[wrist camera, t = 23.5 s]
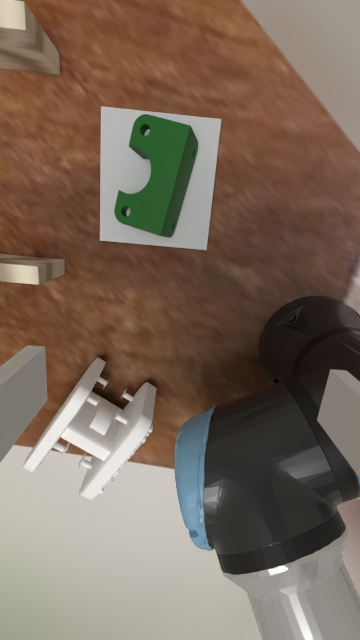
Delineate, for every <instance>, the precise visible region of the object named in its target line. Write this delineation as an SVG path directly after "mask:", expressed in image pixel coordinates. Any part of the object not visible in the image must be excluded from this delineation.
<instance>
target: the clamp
mask: <svg viewBox="0 0 360 640" xmlns="http://www.w3.org/2000/svg"><path fill="white" fill-rule="evenodd" d="M148 129H150V133H149V134H148V135H147V136H145V132H146V131H147V130H148ZM129 147H130V148H131V149H132V150H133V151H135V152H136V153H137V154H138V155H139V156H140V157H141V158H143V159H149V161H150V164H151V175H150V179H149V181H148V183H147V185H146V186H145V187H144V188H143V189H142V190H141V191H139V192H137V193H134V194H127V193H124V192H122V191H120V190H119V191H118V195H117V199H116V204H115V209H114V214H115V217H116V219H117V220H118V221H119V222H120V223H122V224H125V225H128V226H131V227H134V228H137V229H140V230H143V231H146V232H149V233H152V234H155V235H159V236H163V237H168V238H171V237H172V236H173V234H174V232H175V229H176V225H177V222H178V219H179V215H180V212H181V208H182V205H183V201H184V198H185V194H186V191H187V187H188V184H189V180H190V177H191V173H192V170H193V166H194V163H195V159H196V156H197V151H198V140H197V138H196V136H195V134H194V132H193V130H192V127H191V125H187V124H183V123H179V122H175V121H171V120H168V119H164V118H160V117H156V116H152V115H149V114H143V115H141V116H139V117H138V118H137V119H136V120H135V122H134V124H133V128H132V133H131V137H130V142H129ZM128 208H130V215H129V216H127V215H126V211H127V209H128Z"/></svg>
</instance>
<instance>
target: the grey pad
mask: <svg viewBox="0 0 360 640" xmlns="http://www.w3.org/2000/svg"><path fill="white" fill-rule="evenodd" d="M143 114H149V115H152V116H156V117H160V118H164V119H168V120H171V121H175V122H179V123H183V124H187V125H191V127H192V130H193V132H194V134H195V136H196V138H197V140H198V151H197V156H196V159H195V163H194V166H193V170H192V173H191V177H190V180H189V184H188V187H187V191H186V194H185V198H184V201H183V205H182V208H181V212H180V215H179V219H178V222H177V225H176V229H175V232H174V234H173V236H172V237H171V238H168V237H163V236H159V235H155V234H152V233H149V232H146V231H143V230H140V229H137V228H134V227H131V226H128V225H125V224H122V223H120V222H119V221H118V220H117V219H116V217H115V214H114V209H115V204H116V199H117V195H118V191H119V190H120V191H122V192H124V193H127V194H134V193H137V192H139V191H141V190H142V189H143V188H144V187H145V186H146V185H147V183H148V181H149V179H150V175H151V164H150V161H149V159H143V158H141V157H140V156H139V155H138V154H137V153H136V152H135V151H133V150H132V149H131V148H130V147H129V142H130V137H131V133H132V128H133V124H134V122H135V120H136V119H137V118H138V117H139V116H141V115H143ZM220 127H221V119H215V118H205V117H196V116H186V115H177V114H168V113H158V112H149V111H140V110H130V109H121V108H111V107H102V106H101V176H100V240H101V241H112V242H123V243H134V244H145V245H156V246H167V247H178V248H189V249H200V250H207V242H208V233H209V224H210V215H211V206H212V198H213V189H214V180H215V171H216V162H217V153H218V144H219V136H220ZM149 133H150V129H148V130H147V131H146V132H145V136H147V135H148V134H149ZM126 215H127V216H129V215H130V208H128V209H127V211H126Z"/></svg>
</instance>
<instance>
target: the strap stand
mask: <svg viewBox="0 0 360 640" xmlns="http://www.w3.org/2000/svg"><path fill="white" fill-rule="evenodd" d="M0 68H2V69H11V70H20V71H29V72H38V73H48V74H57V75H60V57H59V52H58V51H57V49H56V48H55V46H54V45H53V43H52V42H51V41H50V39H49V38H48V36H47V35H46V33H45V32H44V30H43V29H42V27H41V26H40V24H39V23H38V21H37V20H36V18H35V17H34V15H33V14H32V12H31V11H30V9H29V8H28V6H27V5H26V3H25V2H23V1H15V0H0ZM64 274H65V259H54V258H43V257H31V256H20V255H9V254H0V281H3V282H15V283H27V284H38V285H39V284H42V283H44V282H47V281H49V280H52V279H54V278H57V277H59V276H62V275H64Z"/></svg>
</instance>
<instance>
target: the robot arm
mask: <svg viewBox="0 0 360 640" xmlns="http://www.w3.org/2000/svg"><path fill="white" fill-rule="evenodd" d="M259 356H260V361H261V364H262V366H263V369H264V370H265V372H266V374H267V375H268V377H269V378H270V380H271V381H272V382H273V383H274V385H271V386H269V387H267V388H264V389H262V390H259V391H257V392H254V393H252V394H250V395H247V396H244V397H242V398H239V399H237V400H234V401H232V402H229V403H227V404H224V405H221V406H217V405H216V406H213V407H212V408H211V409H210V410H209V411H207V412H205V413H202V414H200V415H198V416H196V417H194V418H192V419H190V420H188V421H186V422H185V423H184V424H183V425H182V427H181V429H180V430H179V433H178V435H177V439H176V446H175V455H174V465H175V479H176V487H177V494H178V499H179V504H180V509H181V513H182V516H183V520H184V523H185V526H186V528H188V529H189V534H190V538H191V540H192V541H193V543H194V544H195V545H196V546H197V547H198V548H200V549H206V550H208V551H210V550H213V549H214V548H215V550H216V553H217V556H218V559H219V563H220V566H221V569H222V572H223V574H224V576H225V577H226V578H228V579H229V580H231V581H232V582H234V583H235V584H237V585H238V586H240V587H242V588H243V589H244V590H245V591H246V592H247V594H248V597H249V600H250V603H251V606H252V609H253V612H254V615H255V618H256V621H257V624H258V628H259V631H260V634H261V637H262V640H360V597H359V595H358V593H357V591H356V589H355V587H354V584H353V582H352V580H351V578H350V576H349V574H348V571H347V569H346V567H345V565H344V563H343V561H342V552H343V548H344V545H345V541H346V538H347V534H348V530H347V528H346V526H345V524H344V522H343V520H342V518H341V516H340V514H339V512H338V510H337V505H338V504H341V503H343V502H346V501H348V500H352V499H355V498H357V497H360V315H359V314H358V313H357V312H356V311H355V310H353V309H352V308H351V307H349V306H348V305H346V304H344V303H342V302H339V301H337V300H335V299H332V298H328V297H322V296H312V297H305V298H301V299H298V300H295V301H293V302H291V303H289V304H287V305H285V306H284V307H282V308H281V309H280V310H279V311H277V312H276V313H275V314H274V315H273V316H272V317H271V319H270V320H269V321H268V323H267V324H266V326H265V328H264V330H263V332H262V335H261V338H260V343H259ZM46 401H47V380H46V359H45V347H42V346H29V345H27V346H26V347H25V348H24V349H22V350H21V351H20V352H18V353H17V354H16V355H15V356H13V357H12V358H11V359H9V360H8V361H7V362H6V363H4V364H3V365H2V366H0V462H1V461H2V459H3V458H4V457H5V455H6V454H7V453H8V451H9V450H10V449H11V447H12V446H13V445H14V444H15V442H16V441H17V440H18V438H19V437H20V436H21V434H22V433H23V432H24V430H25V429H26V428H27V426H28V425H29V424H30V423H31V421H32V420H33V419H34V417H35V416H36V415H37V413H38V412H39V411H40V409H41V408H42V407H43V405H44V404H45V403H46Z"/></svg>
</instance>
